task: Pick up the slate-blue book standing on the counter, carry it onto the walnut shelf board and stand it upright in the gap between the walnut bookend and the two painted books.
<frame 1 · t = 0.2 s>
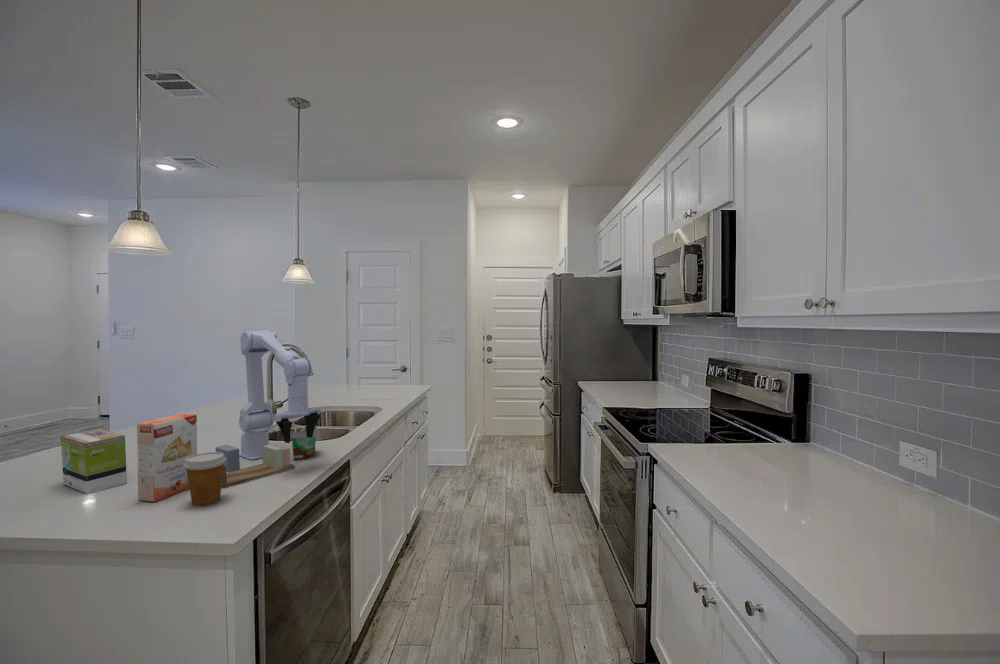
hand: (298, 439, 151), 10 cm above the worktop, tool pointing down, fingers open, 7 cm apart
book row: (276, 455, 155), point 4 cm above the worktop
cracker box: (169, 493, 134), on the worktop
disposable coffee cup: (206, 502, 127), on the worktop
shelf: (252, 474, 148), on the worktop
tea box: (95, 485, 140), on the worktop
food container: (308, 456, 167), on the worktop
book: (227, 469, 153), on the worktop
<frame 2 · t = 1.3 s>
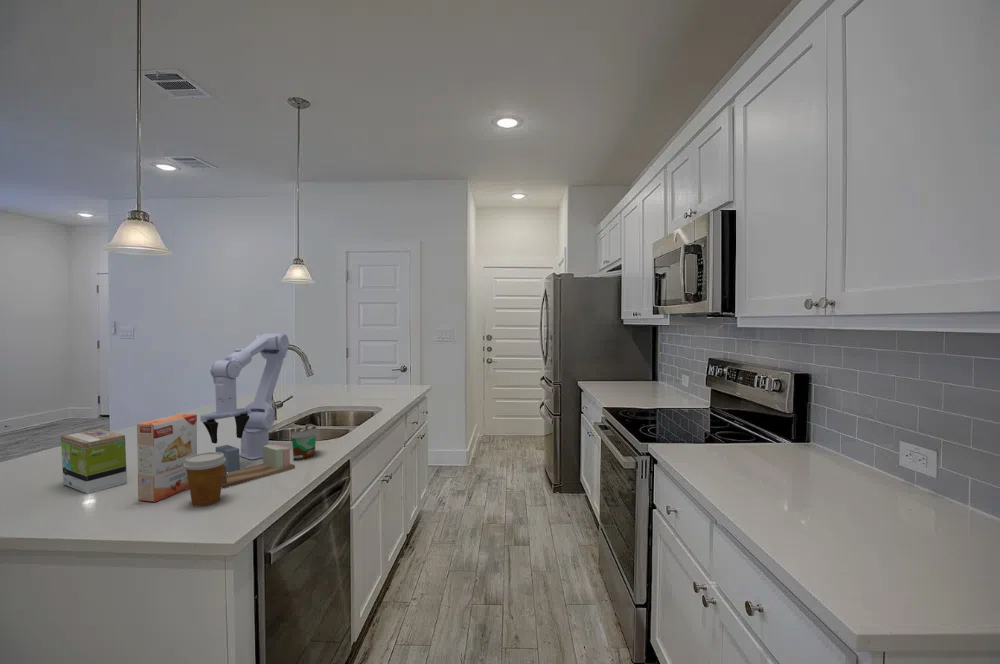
hand: (227, 440, 153), 9 cm above the worktop, tool pointing down, fingers open, 7 cm apart
nothing on the worktop moved.
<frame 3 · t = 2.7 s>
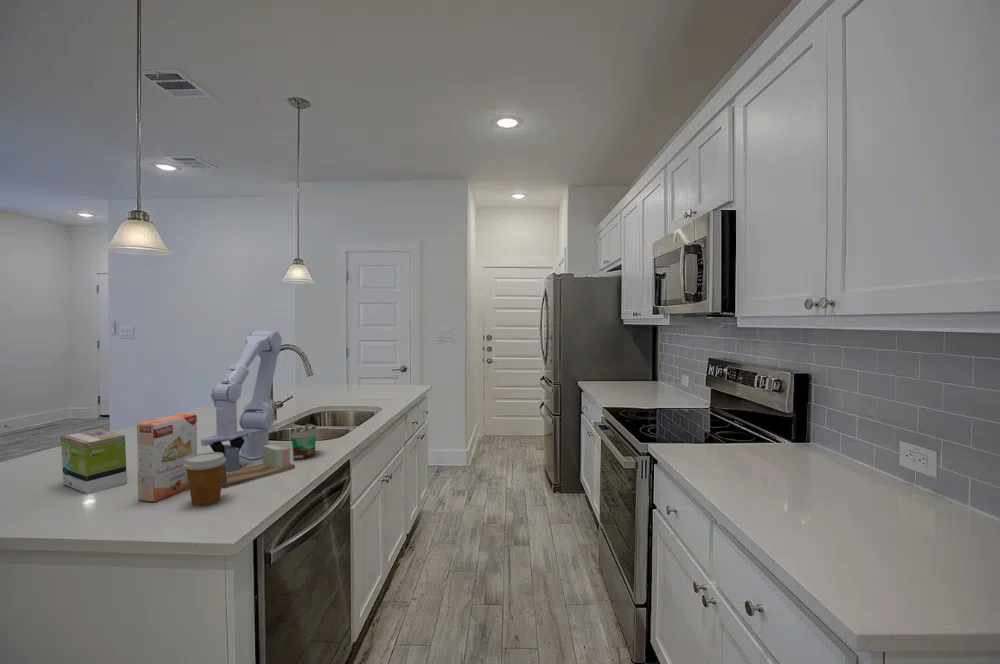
hand: (227, 463, 153), 2 cm above the worktop, tool pointing down, fingers closed on book, 3 cm apart
book: (227, 469, 153), on the worktop, touching gripper
everything else where it was.
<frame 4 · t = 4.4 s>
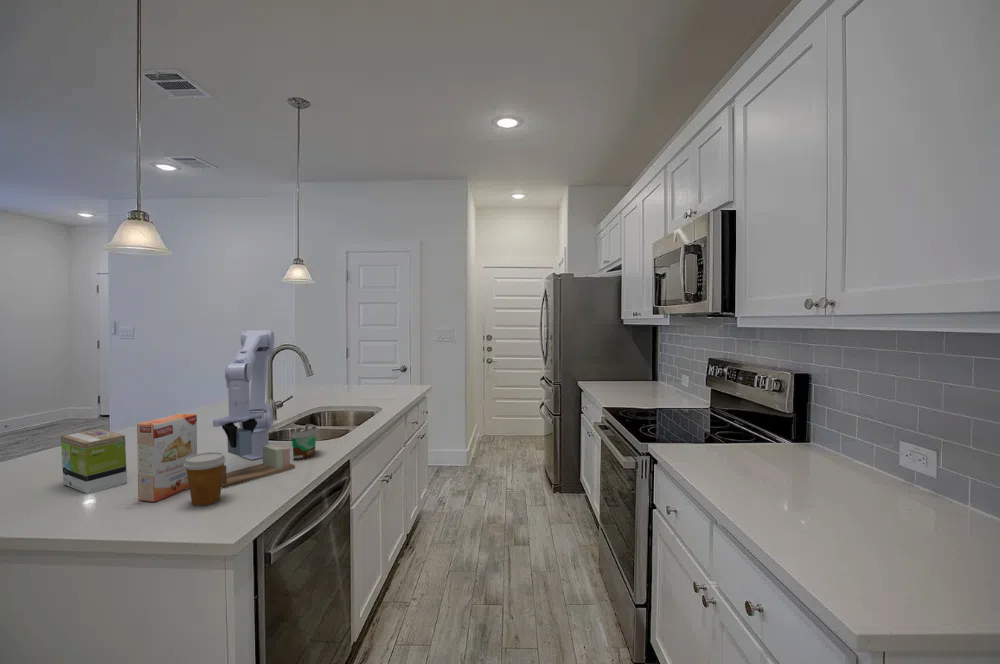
hand: (240, 445, 148), 9 cm above the worktop, tool pointing down, fingers closed on book, 3 cm apart
book: (239, 452, 148), point 7 cm above the worktop, touching gripper
everything else where it was.
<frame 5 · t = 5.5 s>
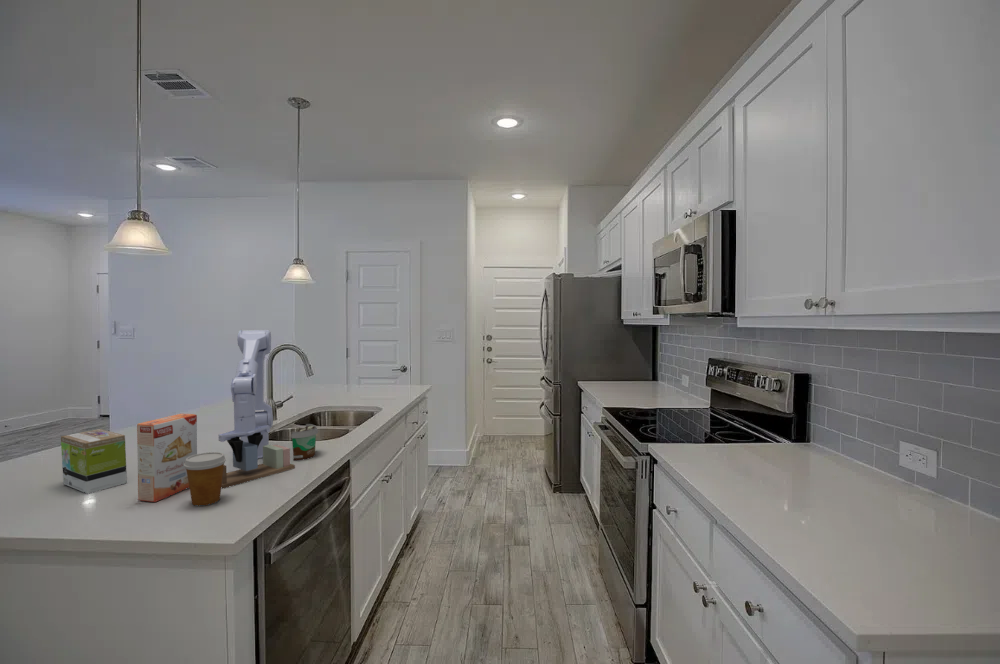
hand: (245, 459, 147), 5 cm above the worktop, tool pointing down, fingers closed on book, 3 cm apart
book: (245, 467, 147), point 3 cm above the worktop, touching gripper
everything else where it was.
when the fingers open (4 cm above the worktop, at t = 6.2 s): book stays where it is, resting on shelf.
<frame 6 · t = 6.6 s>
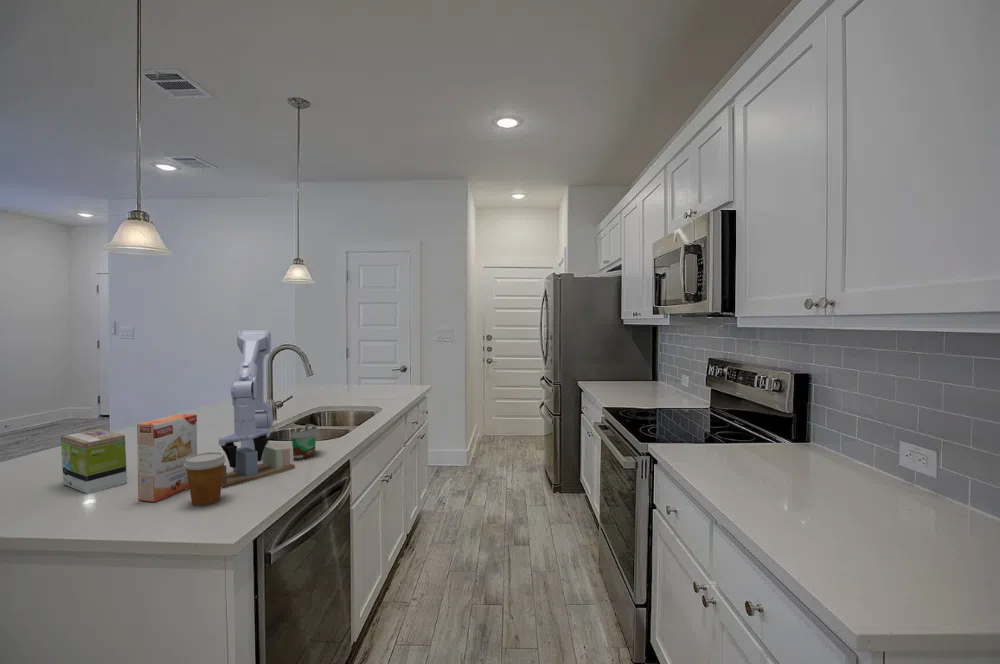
hand: (245, 463, 147), 4 cm above the worktop, tool pointing down, fingers open, 7 cm apart
book: (245, 472, 147), point 1 cm above the worktop, touching shelf
everything else where it was.
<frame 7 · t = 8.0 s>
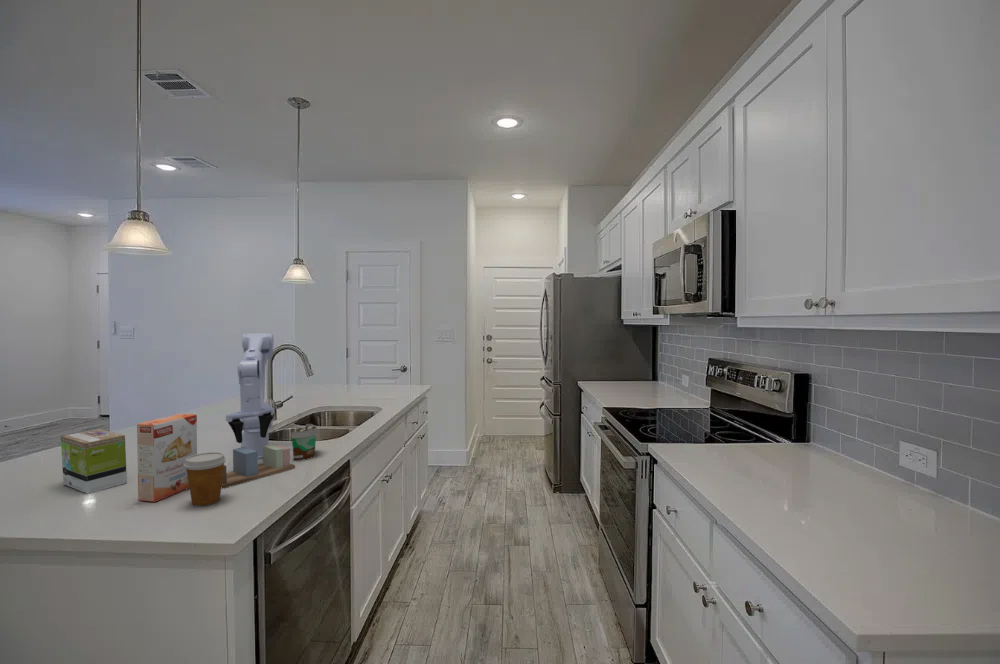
hand: (251, 439, 154), 9 cm above the worktop, tool pointing down, fingers open, 7 cm apart
nothing on the worktop moved.
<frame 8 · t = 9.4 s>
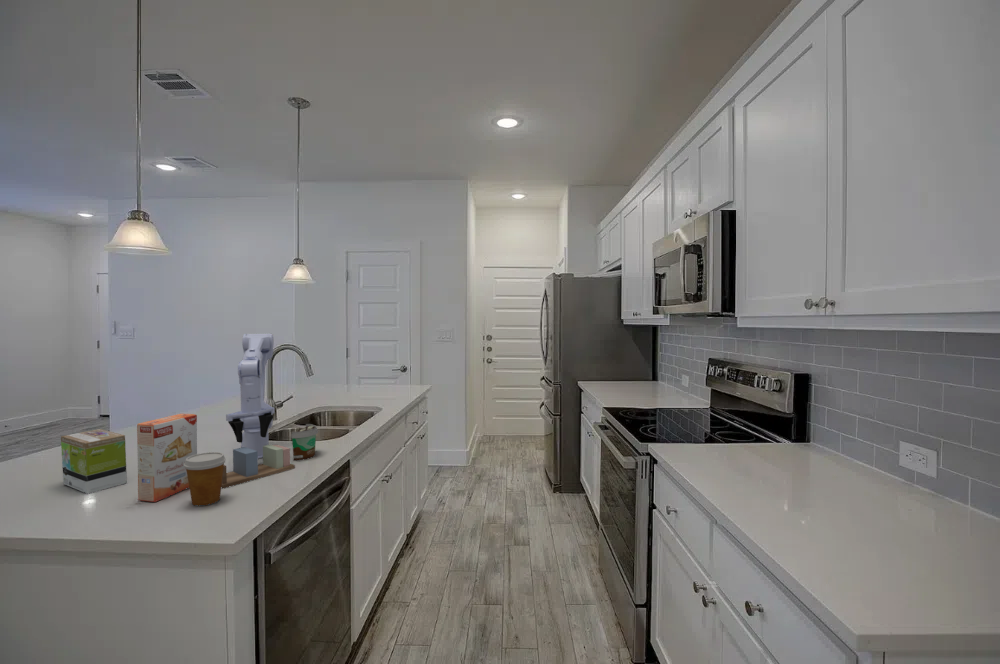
hand: (251, 439, 154), 9 cm above the worktop, tool pointing down, fingers open, 7 cm apart
nothing on the worktop moved.
at the end: book 0.3 cm from the target spot, point 1.0 cm above the worktop; book tilted 0°; the gripper is holding nothing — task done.
